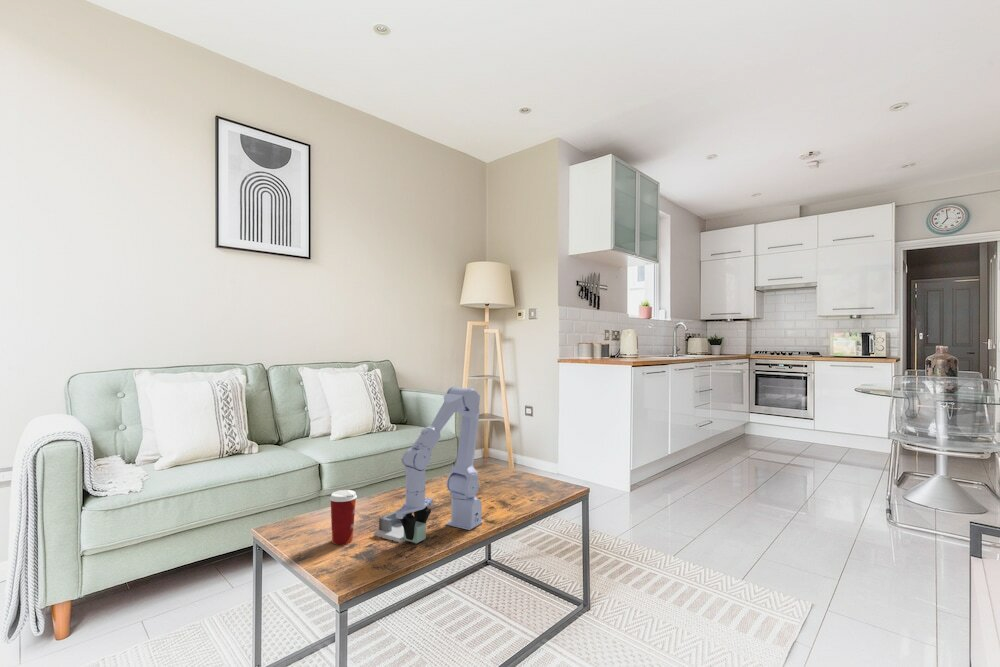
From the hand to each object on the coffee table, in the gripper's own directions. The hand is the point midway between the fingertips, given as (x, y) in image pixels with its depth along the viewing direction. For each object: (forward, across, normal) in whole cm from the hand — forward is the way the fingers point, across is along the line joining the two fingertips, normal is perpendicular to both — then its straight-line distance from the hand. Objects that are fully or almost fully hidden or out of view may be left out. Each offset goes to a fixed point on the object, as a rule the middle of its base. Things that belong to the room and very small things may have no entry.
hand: (414, 536), depth 140 cm
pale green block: (+1, 0, 0) cm, 1 cm away
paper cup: (+2, +11, -18) cm, 21 cm away
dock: (+1, -3, -8) cm, 9 cm away
